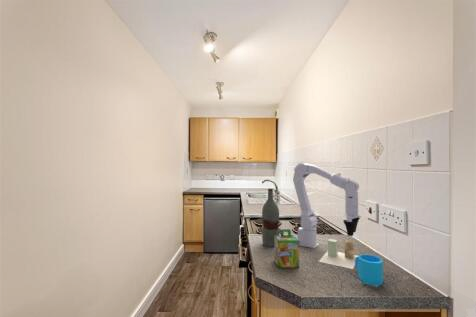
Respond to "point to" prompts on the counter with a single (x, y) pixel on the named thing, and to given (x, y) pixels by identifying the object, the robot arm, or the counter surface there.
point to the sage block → (332, 247)
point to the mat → (339, 260)
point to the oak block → (349, 249)
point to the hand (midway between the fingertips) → (351, 233)
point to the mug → (370, 269)
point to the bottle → (270, 220)
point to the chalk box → (286, 250)
